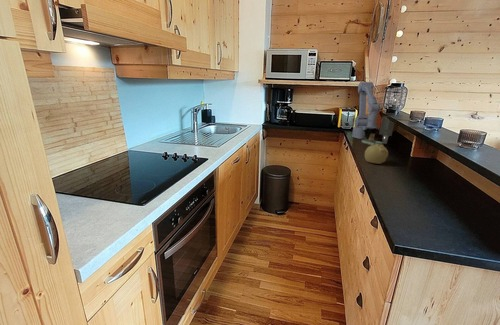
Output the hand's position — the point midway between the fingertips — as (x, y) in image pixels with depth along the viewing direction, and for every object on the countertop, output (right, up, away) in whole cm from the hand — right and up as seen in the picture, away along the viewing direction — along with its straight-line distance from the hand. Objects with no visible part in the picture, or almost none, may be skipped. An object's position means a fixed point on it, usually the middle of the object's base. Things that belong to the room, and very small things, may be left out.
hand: (369, 138), depth 195 cm
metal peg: (+11, -4, 0) cm, 12 cm away
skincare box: (+28, +5, +30) cm, 41 cm away
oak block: (0, -2, 0) cm, 2 cm away
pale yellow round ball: (-18, -18, -46) cm, 53 cm away
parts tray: (+1, -4, -2) cm, 4 cm away
